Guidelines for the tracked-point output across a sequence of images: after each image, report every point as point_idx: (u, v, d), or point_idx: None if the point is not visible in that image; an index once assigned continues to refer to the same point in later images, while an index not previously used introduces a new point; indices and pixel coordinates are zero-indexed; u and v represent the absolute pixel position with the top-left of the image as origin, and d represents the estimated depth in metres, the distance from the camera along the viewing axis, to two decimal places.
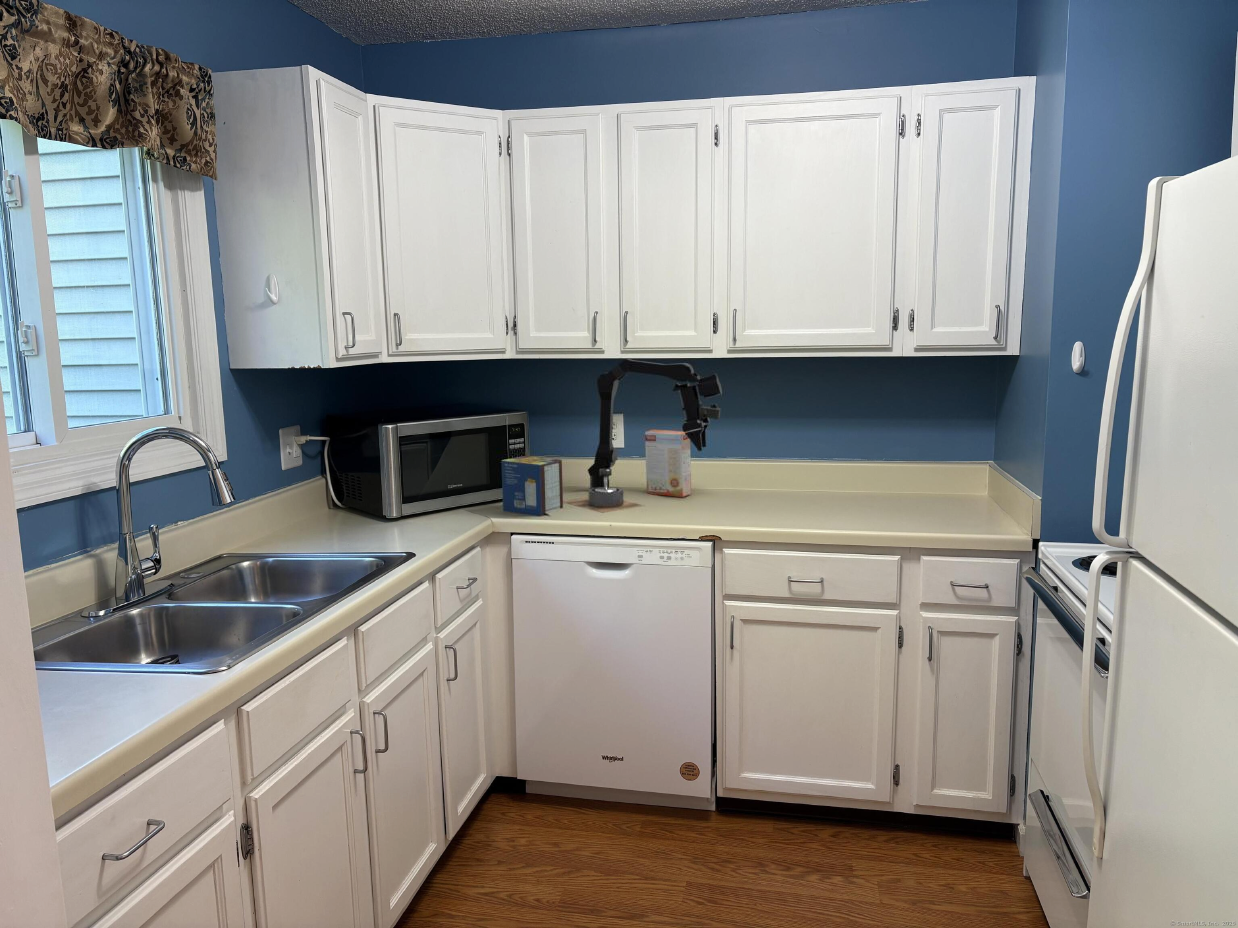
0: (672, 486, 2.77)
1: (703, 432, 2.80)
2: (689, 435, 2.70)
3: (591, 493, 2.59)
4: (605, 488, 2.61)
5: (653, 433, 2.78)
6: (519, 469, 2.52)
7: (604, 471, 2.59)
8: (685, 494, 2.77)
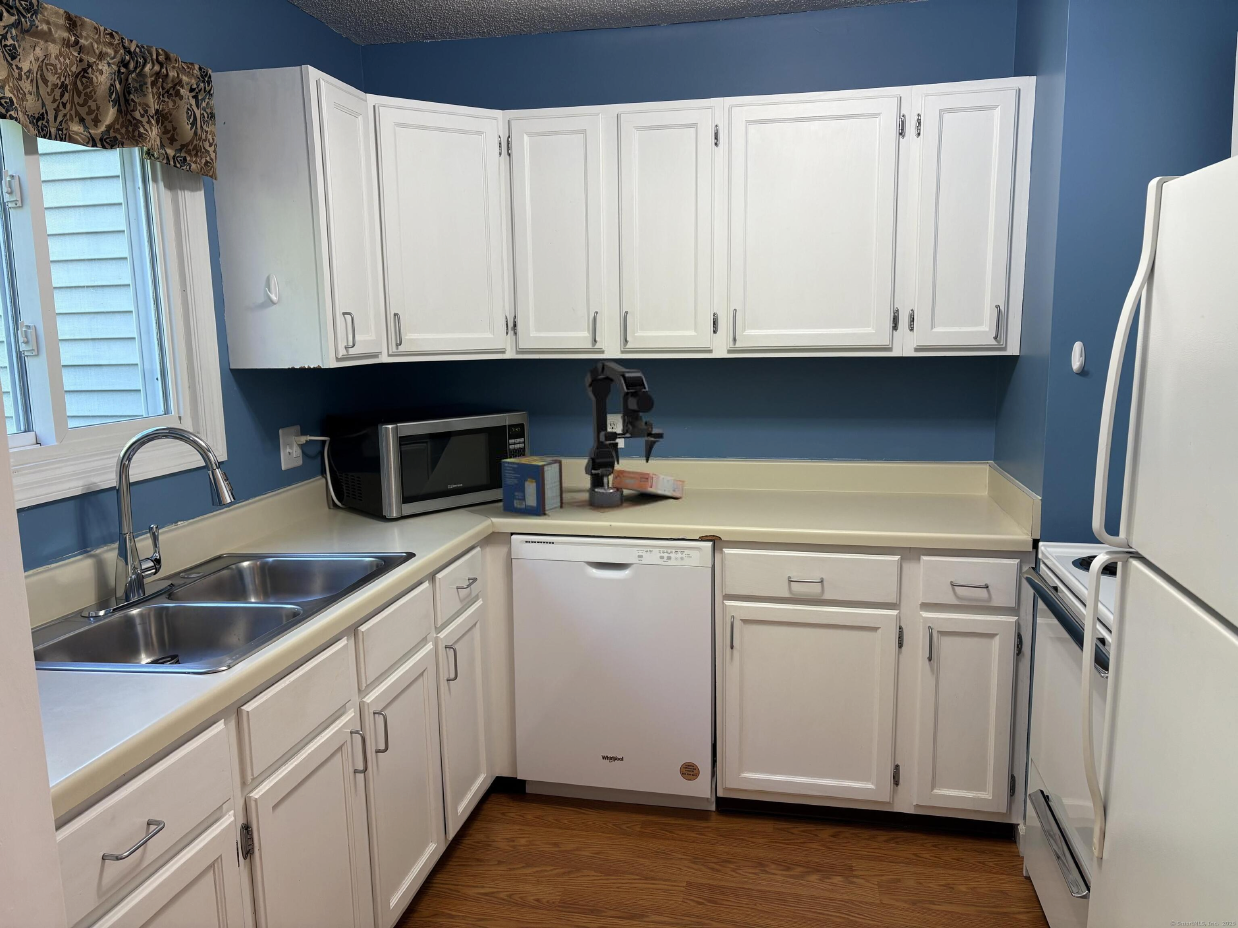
0: None
1: (648, 447, 2.60)
2: (609, 445, 2.60)
3: (591, 493, 2.59)
4: (605, 488, 2.61)
5: (620, 487, 2.65)
6: (519, 469, 2.52)
7: (604, 471, 2.59)
8: (682, 492, 2.75)
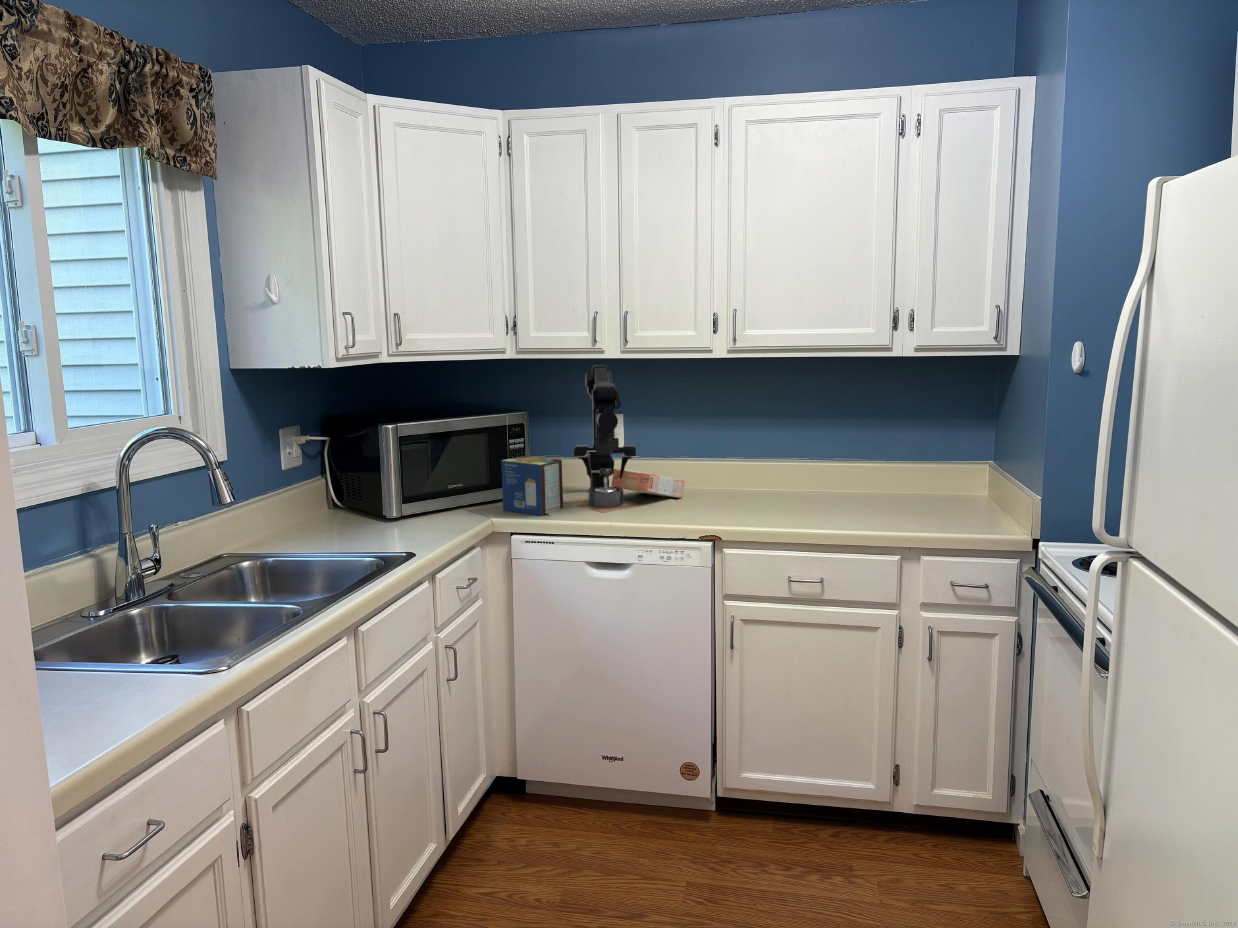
0: None
1: None
2: None
3: (591, 493, 2.59)
4: (605, 488, 2.61)
5: (620, 487, 2.65)
6: (519, 469, 2.52)
7: (604, 471, 2.59)
8: (682, 492, 2.75)
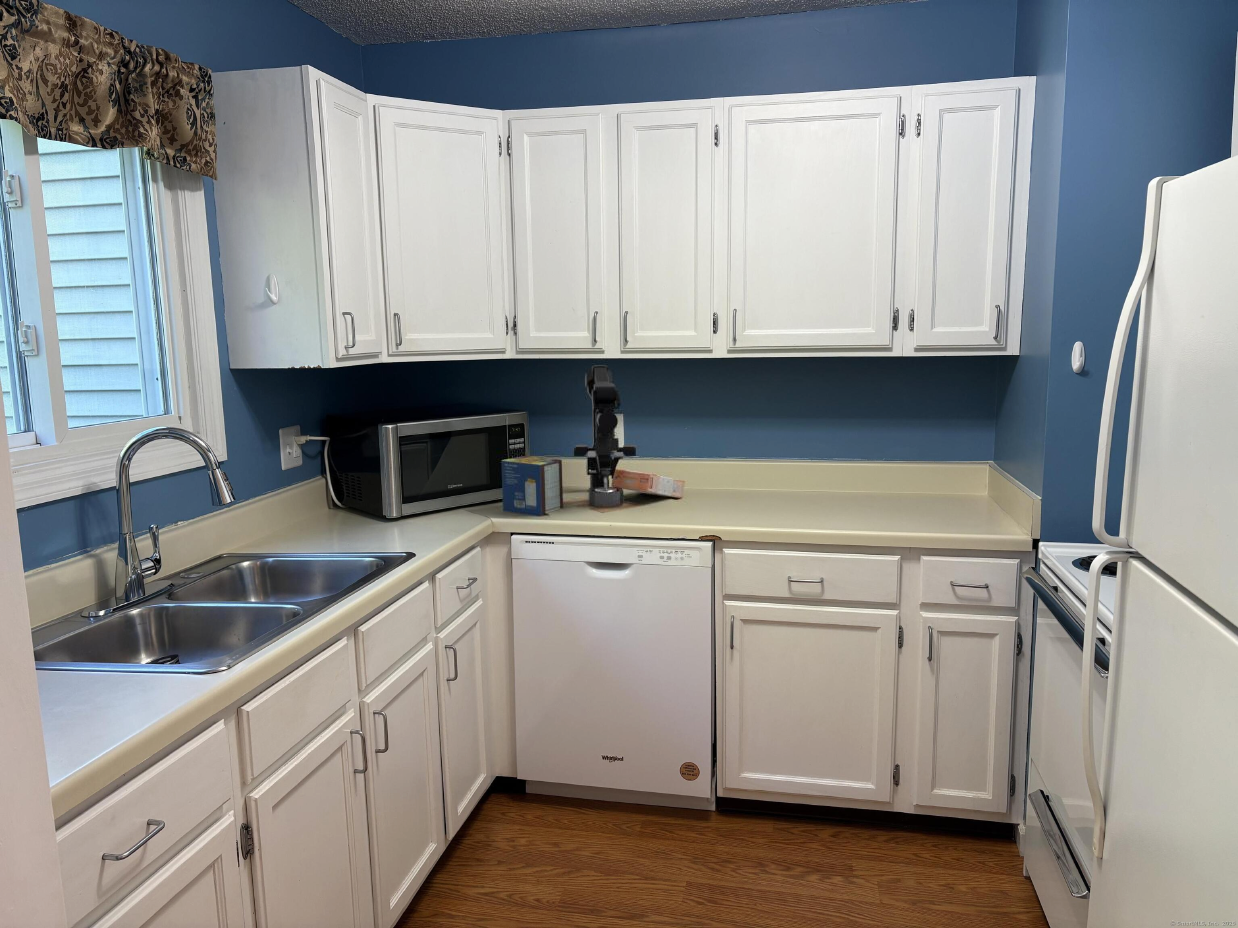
0: None
1: (612, 463, 2.59)
2: None
3: (591, 493, 2.59)
4: (605, 488, 2.61)
5: (620, 487, 2.65)
6: (519, 469, 2.52)
7: (604, 471, 2.59)
8: (682, 492, 2.75)
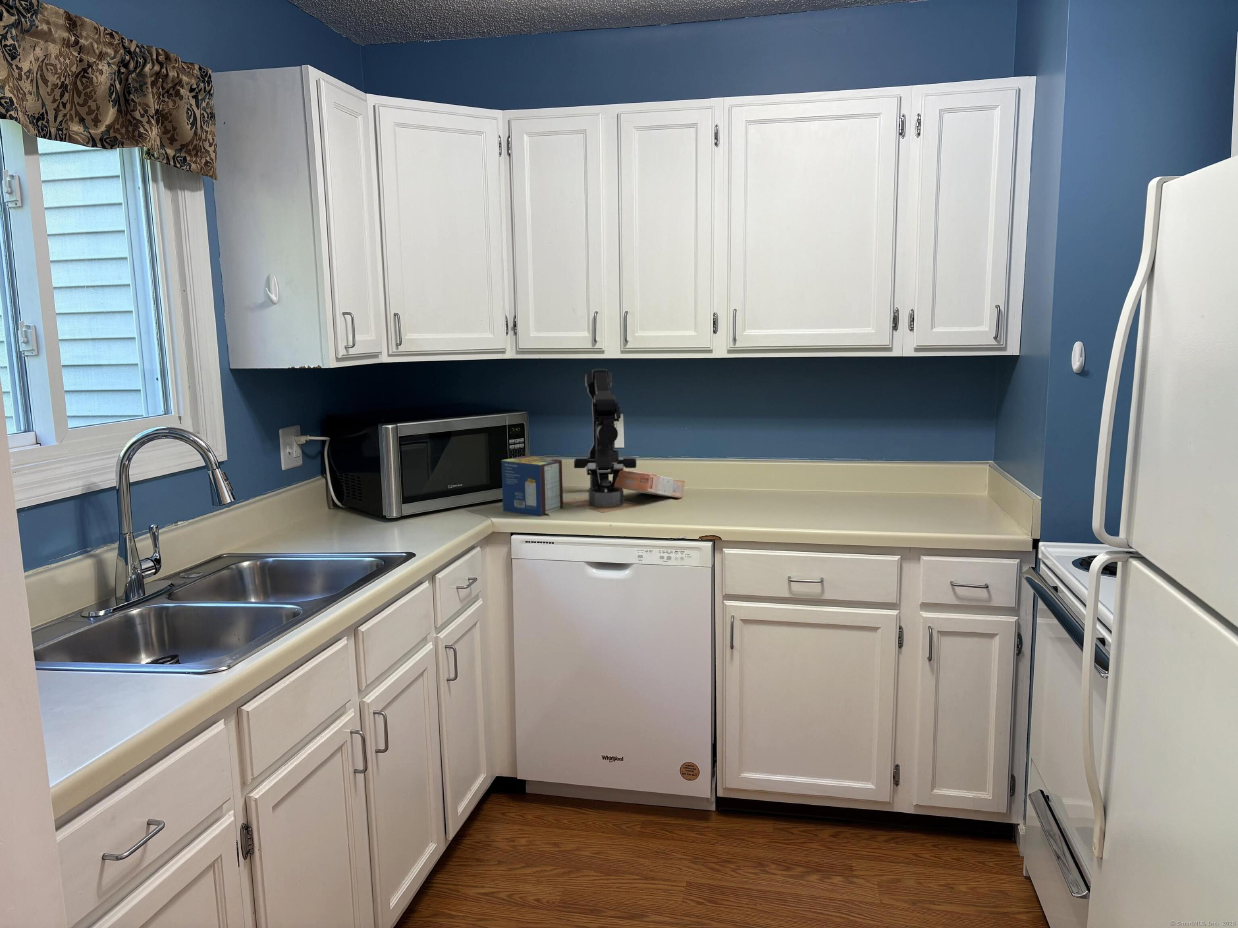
0: None
1: None
2: None
3: (591, 493, 2.59)
4: None
5: (620, 487, 2.65)
6: (519, 469, 2.52)
7: (604, 483, 2.59)
8: (682, 492, 2.75)
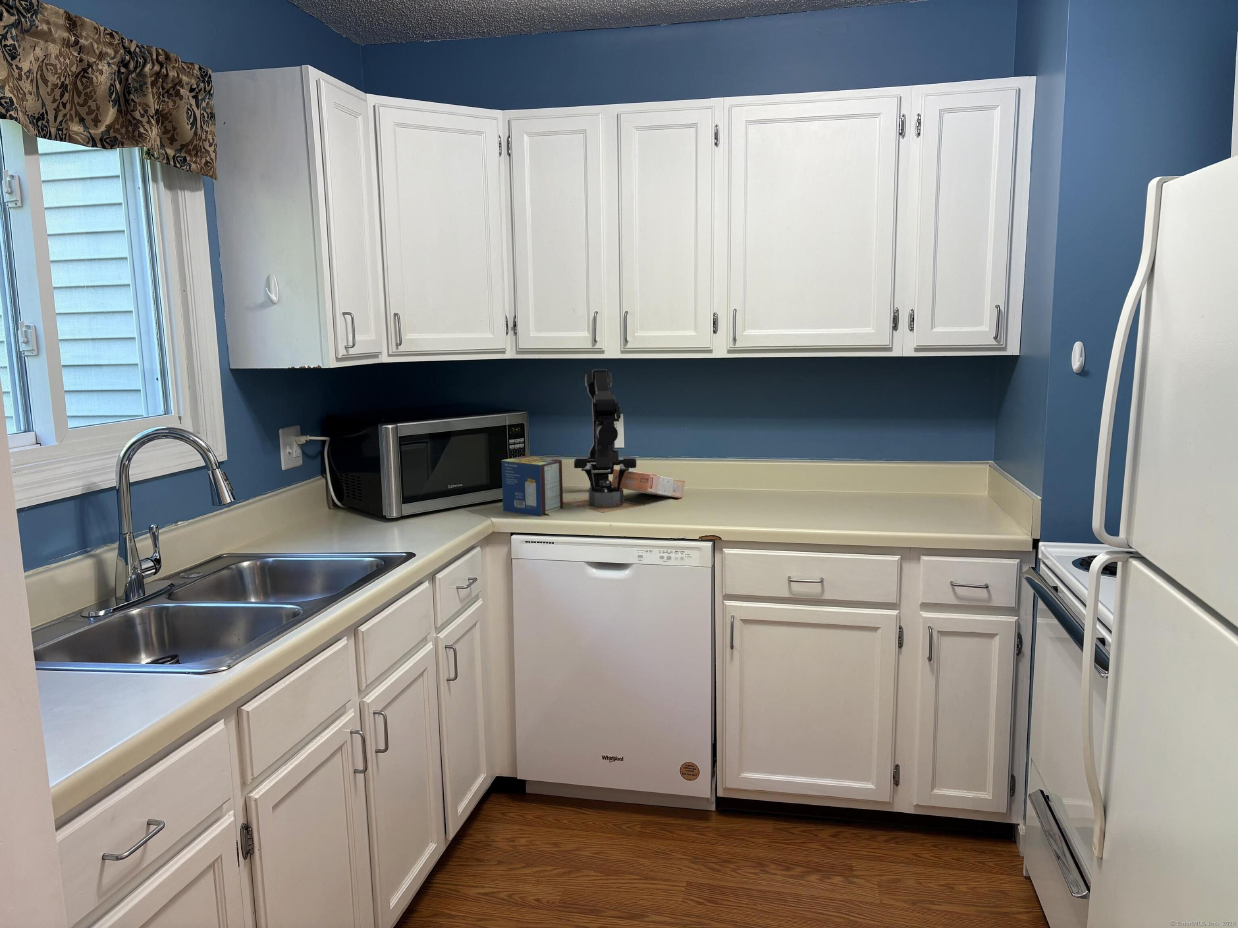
0: None
1: None
2: None
3: (591, 493, 2.59)
4: None
5: (620, 487, 2.65)
6: (519, 469, 2.52)
7: (604, 483, 2.59)
8: (682, 492, 2.75)
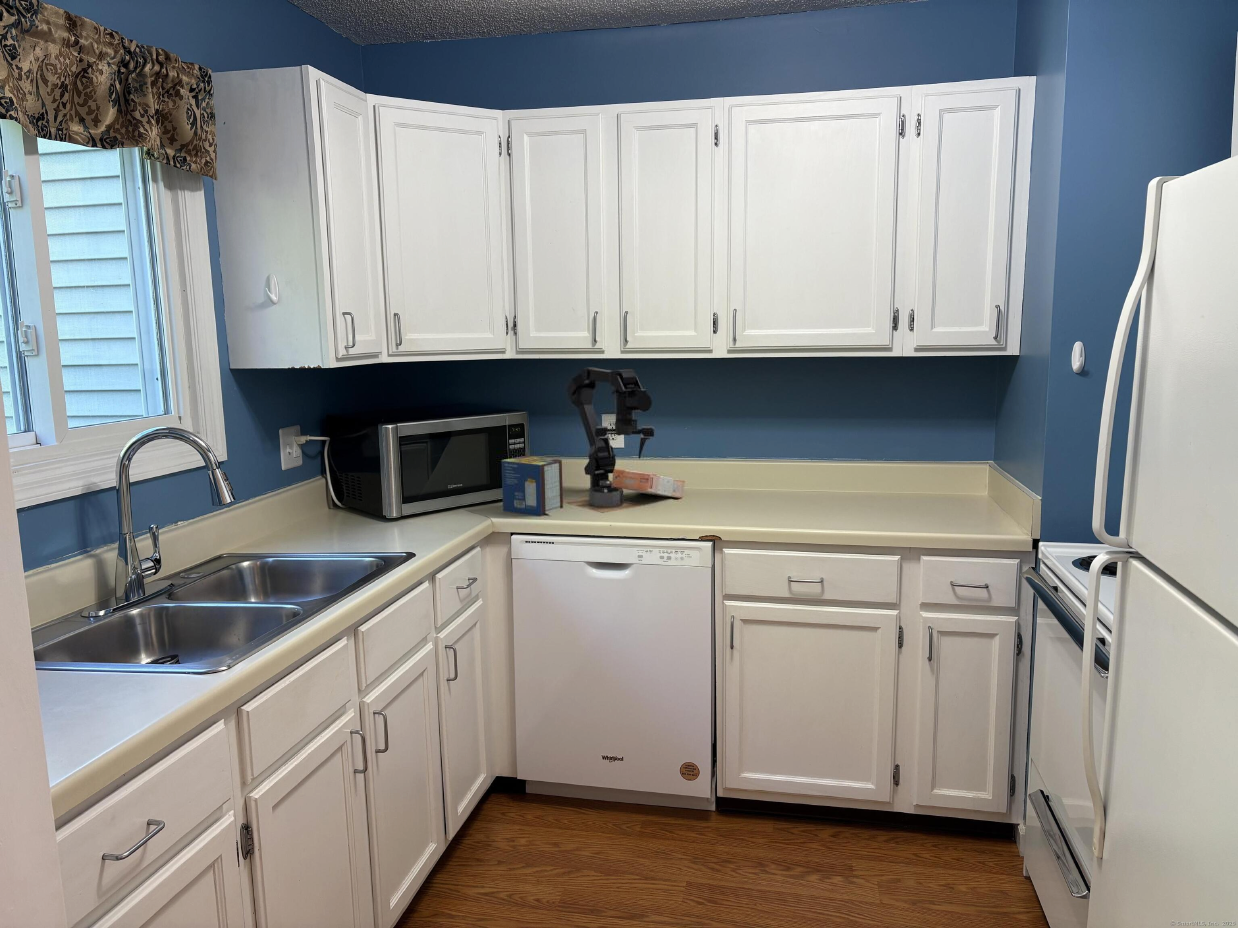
0: None
1: (640, 444, 2.72)
2: None
3: (591, 493, 2.59)
4: None
5: (620, 487, 2.65)
6: (519, 469, 2.52)
7: (604, 483, 2.59)
8: (682, 492, 2.75)
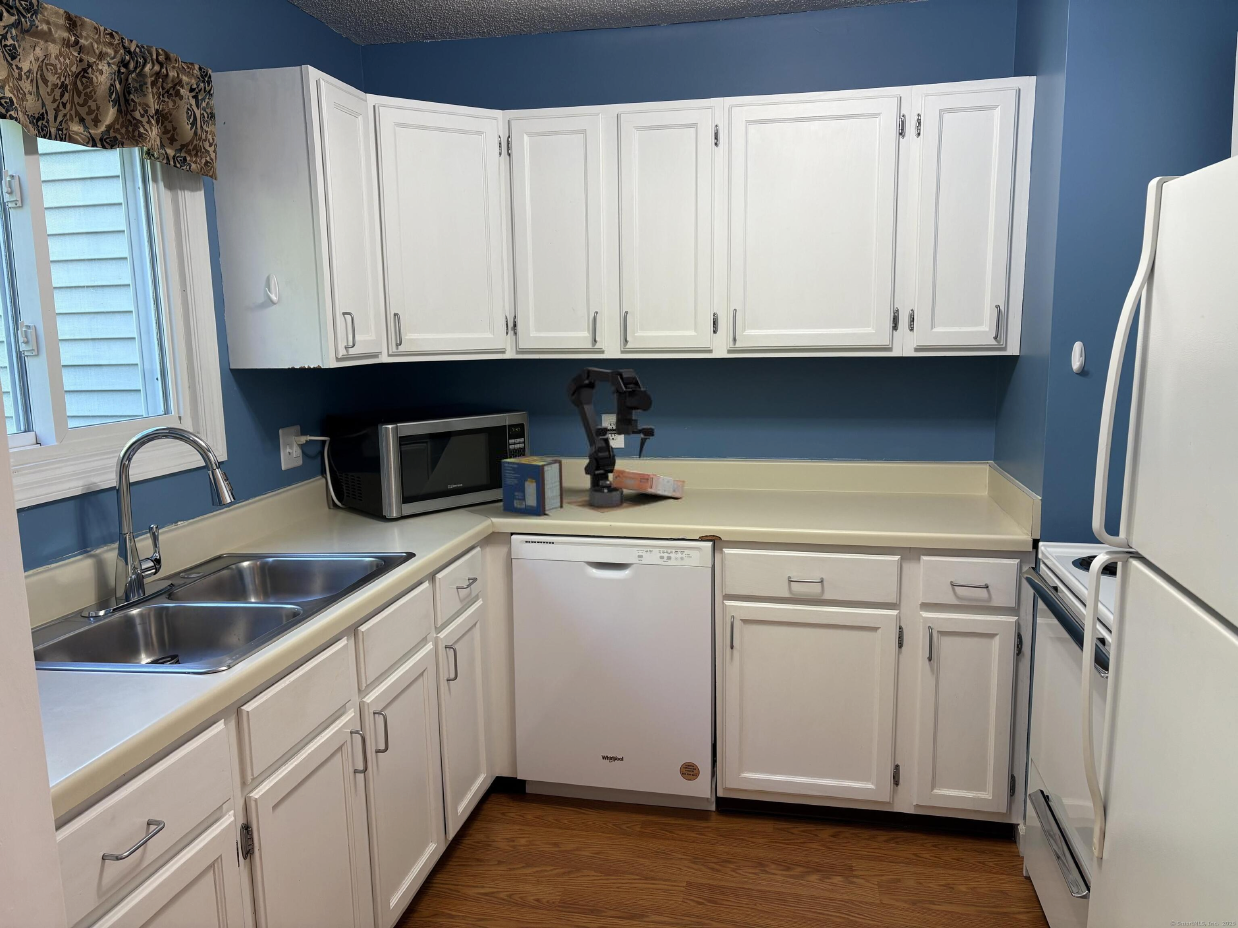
0: None
1: (640, 443, 2.72)
2: None
3: (591, 493, 2.59)
4: None
5: (620, 487, 2.65)
6: (519, 469, 2.52)
7: (604, 483, 2.59)
8: (682, 492, 2.75)
